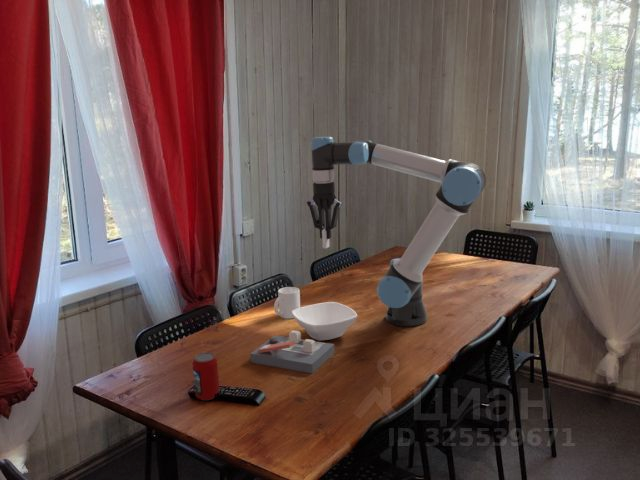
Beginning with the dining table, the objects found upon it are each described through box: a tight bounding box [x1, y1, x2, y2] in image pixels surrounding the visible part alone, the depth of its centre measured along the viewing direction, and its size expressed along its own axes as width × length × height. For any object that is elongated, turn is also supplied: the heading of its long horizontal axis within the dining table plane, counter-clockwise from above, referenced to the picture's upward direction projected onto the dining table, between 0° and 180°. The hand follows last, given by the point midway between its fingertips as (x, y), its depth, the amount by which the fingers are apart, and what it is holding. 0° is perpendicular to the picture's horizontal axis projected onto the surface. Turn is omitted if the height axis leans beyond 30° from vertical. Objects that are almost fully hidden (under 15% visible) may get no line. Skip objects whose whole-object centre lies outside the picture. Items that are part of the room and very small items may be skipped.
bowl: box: [292, 301, 358, 342], centre depth 199 cm, size 21×21×9 cm
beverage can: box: [192, 352, 220, 401], centre depth 159 cm, size 7×7×12 cm
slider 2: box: [303, 338, 316, 353], centre depth 179 cm, size 3×2×3 cm
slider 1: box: [288, 330, 302, 343], centre depth 187 cm, size 3×2×3 cm
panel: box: [249, 334, 335, 374], centre depth 182 cm, size 22×16×4 cm
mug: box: [273, 286, 301, 320], centre depth 218 cm, size 12×8×10 cm
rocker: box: [258, 340, 295, 353], centre depth 179 cm, size 12×4×1 cm, turn 64°
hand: (326, 247), depth 203 cm, fingers closed
